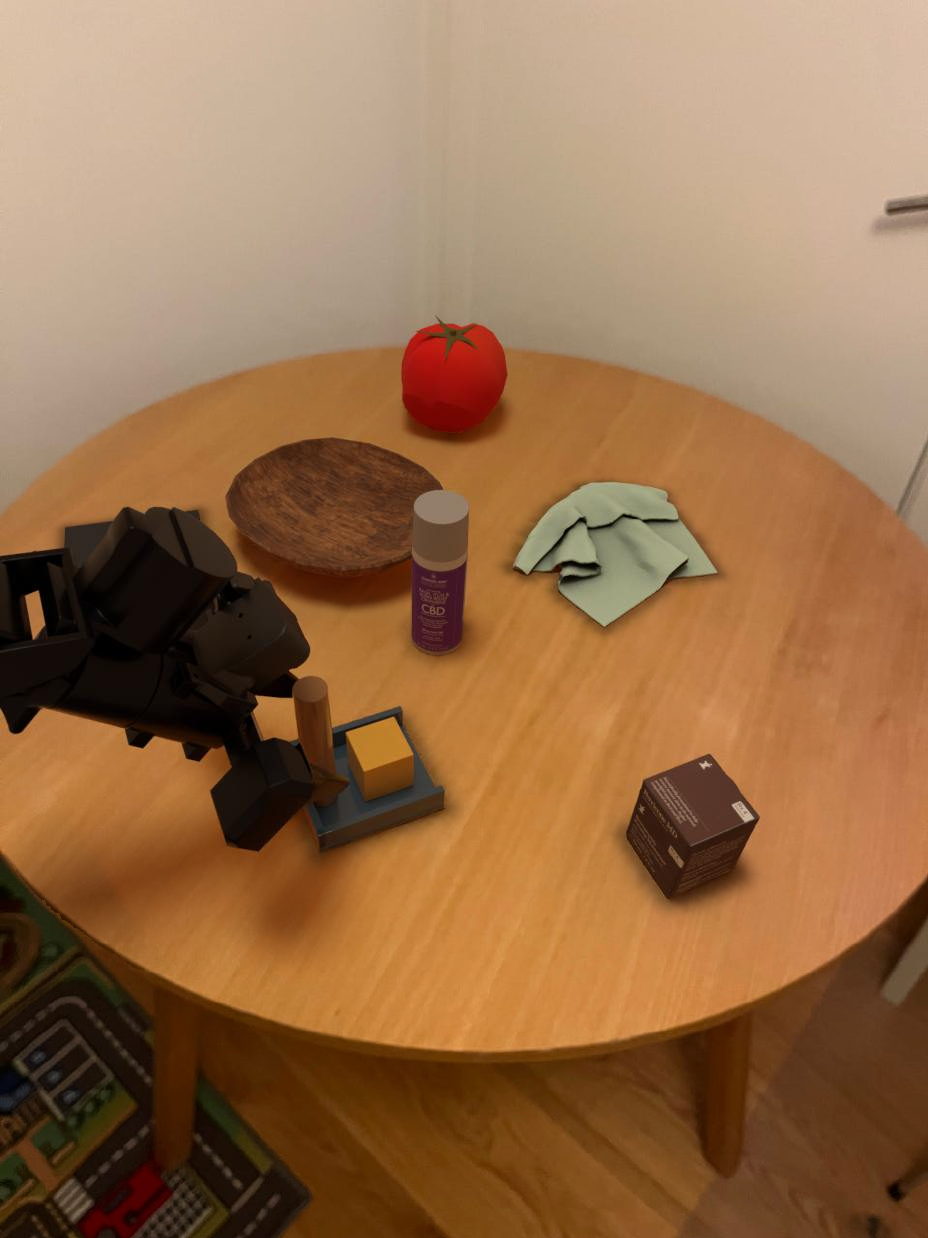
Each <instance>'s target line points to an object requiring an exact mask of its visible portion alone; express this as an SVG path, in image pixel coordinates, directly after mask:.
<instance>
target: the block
mask: <svg viewBox="0 0 928 1238" xmlns="http://www.w3.org/2000/svg"><path fill="white" fill-rule="evenodd" d="M346 743H347V756H348V765H349V767H350V769H351V771H352V773H353V776H354V778H355V780H356V782H357V784H358V787H359V789H360V791H361V793H362V796H363V798H364V800H365V802H367V801H370V800H373V799H376V798H379V797H382V796H384V795H387V794H390V793H393V792H396V791H399V790H401V789H404V788H407V787H410V786H413V768H414V754H413V752H412V750H411V748H410V746H409V744H408V743H407V741H406V739H405V737H404V735H403V733H402V731H401V729H400V727H399V725H398V723H397V721H396V719H395V717H391V718H388V719H385V720H382V721H379V722H376V723H373V724H370V725H367V726H364V727H360V728H357V729H354V730H351V731H348V732H346Z"/></svg>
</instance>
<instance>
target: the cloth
mask: <svg viewBox="0 0 928 1238" xmlns="http://www.w3.org/2000/svg"><path fill="white" fill-rule="evenodd" d="M668 496H669V493H668V492H667V491H665V490H663V489H661V488H658V487H653V486H649V485H641V484H638V483H630V482H629V483H627V482H617V481H607V482H606V481H603V482H596V481H595V482H593V481H591V482H587V483H585V484H583V485H580V486H579V489H577V490H575V491H573V492H571V493H569V495H568V496H566V497H565V498H563V499H561V500H560V501H558V502H557V503H555V504H554V505H553V506H551V507H550V508H549V509H548V510H547V511H546V512H545V513H544V515H543V516H542V517H541V518H540V520H539V521H538V522H537V523H536V525H535V526H534V528H533V529H532V530H531V532H530V533H529V534H528V536H527V537H526V539H525V541H524V543H523V545H522V547H521V549H520V551H519V552H518V554H517V555H516V558H515V560H514V563H513V564H512V569H516V570H521V571H523V573H524V574H526V575H527V576H528V575H529V574H530V572H531V571H532V572H538V573H539V572H540V573H545V572H552V571H553V570H554V569H555V567H556V566H557V565H559V564H561V566H560V567H559V568H560V570H561V571H560V572H559V574H558V575H559V578H558V580H557V585H558V591H559V592H560V593H561V595H562V596H563V597H564V598H565V599H567V600H568V601H570V602H571V603H572V604H573V605H574V606H575V607H577V608H578V609H579V610H581V611H582V612H583V613H585V614H586V615H587V616H588V617H590V618H591V619H592V620H593V621H595V622H596V623H598V624H599V625H600V626H602V627H603V628H605V627H607V626H608V625H610V624H611V623H613V622H614V621H615V622H616V620H618V619H619V618H620V617H622V616H623V615H625V614H626V613H628V612H629V611H631V610H633V609H634V608H635V607H637V606H638V605H640V604H641V603H643V602H644V601H645V600H646V599H648V598H650V597H651V596H653V595H654V594H655V593H656V592H657V591H660V589H662V587H663V585H664V584H665V582H666V581H667V580H672V579H673V580H674V579H680V578H694V577H701V576H703V577H704V576H710V575H717V574H718V571H717V569H716V568H715V566H714V565H713V563H712V562H711V561H710V559H709V557H708V556H707V554H706V553H705V551H704V550H703V548H702V547H701V546H700V545H699V543H698V541H697V540H696V538H695V537H694V536H693V534H692V533H691V532H690V531H689V529H688V528H687V527H686V525H685V524H684V522H683V521H682V520H681V519H680V516H679V513H678V511H677V508H676V506H675V505H674V504H673V503H671V502H669V501H668Z"/></svg>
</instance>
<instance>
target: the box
mask: <svg viewBox="0 0 928 1238" xmlns="http://www.w3.org/2000/svg"><path fill="white" fill-rule="evenodd" d="M760 819H761V816H760V815H759V813H758V812H757V811H756V810H755V808H754V807H753V805H752V804H751V803H750V801H748V799H747V798H746V797H745V795H744V794H743V793H742V791H741V790H740V788H739V786H738V785H737V783H735V780H733V778H731V777H730V776H729V774H727V773H726V772H725V770H724V769H723V768H722V767H721V766H720V764H719V763H718V761H717V760H716V759H715V758H714V757H713V755H712V753H706V754H704V755H702V756H699V757H697V758H694V759H692V760H689V761H687V762H684V763H682V764H679V765H677V766H674V767H671V768H669V769H665V770H663V771H661V772H657V773H656V774H654V775H651V776H649V777H645V778H644V779H643V780H642V783H641V787H640V789H639V791H638V795H637V799H636V802H635V804H634V807H633V810H632V814H631V816H630V819H629V823H628V825H627V829H626V831H625V834H626V835H625V836H626V838H627V839H628V841H629V842H630V844H631V846H632V847H633V849H634V850H635V852H636V853H637V855H638V856H639V858H640V859H641V861H642V862H643V864H644V866H645V867H646V868H647V870H648V872H649V873H650V874H651V877H652V878H653V879H654V880H655V882H656V883H657V884H658V886H659V887H660V889H661V890H662V892H663V893H664V895H665V896H666V897H667V898H670V899H671V898H673V897H676V896H678V895H680V894H682V893H685V892H686V891H689V890H690V889H693V888H695V887H697V886H699V885H701V884H703V883H706V882H708V881H710V880H713V879H715V878H717V877H719V876H722V875H723V874H726V873H728V872H730V871H732V870H733V869H734V868H735V866H736V865H737V863H738V861H739V858H740V857H741V855H742V853H743V851H744V849H745V847H746V845H747V843H748V841H749V840H750V838H751V836H752V834H753V832H754V830H755V828H756V825H757V824H758V822H759V821H760Z"/></svg>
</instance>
